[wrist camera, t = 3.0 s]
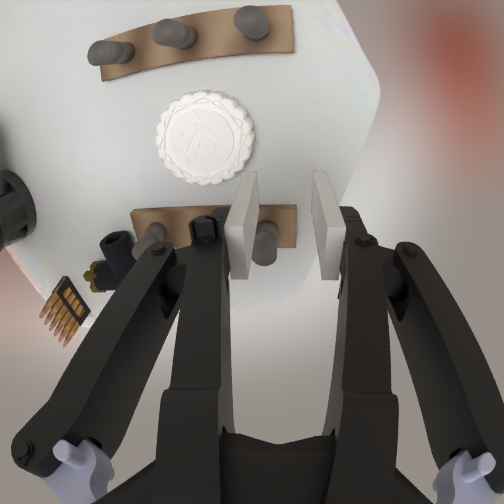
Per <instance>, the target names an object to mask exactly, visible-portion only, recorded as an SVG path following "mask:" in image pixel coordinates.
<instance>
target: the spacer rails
mask: <svg viewBox="0 0 504 504" xmlns="http://www.w3.org/2000/svg"><path fill="white" fill-rule="evenodd" d="M259 53H294V42H293V27H292V13H291V5H276V6H244V7H241V8H231V9H223V10H215V11H209V12H203V13H197V14H191V15H186V16H182V17H177V18H173V19H164V20H161V21H159V22H157V23H153V24H149V25H146V26H142V27H139V28H136V29H133V30H130V31H127V32H124V33H121V34H118V35H115V36H112V37H110V38H107V39H104V40H101V41H97V42H95V43H93V44H92V45H91V47H90V48H89V51H88V55H87V57H88V61H89V63H90V64H91V65H93V66H100V70H101V78H102V82H104V81H109V80H112V79H115V78H119V77H122V76H125V75H129V74H133V73H136V72H140V71H144V70H148V69H152V68H157V67H161V66H166V65H171V64H176V63H181V62H187V61H193V60H199V59H206V58H214V57H222V56H231V55H243V54H259ZM231 206H232V205H218V206H188V207H165V208H147V209H134V210H133V211H132V212H131V213H130V216H131V220H132V223H133V226H134V230H135V233H136V236H137V240H138V241H137V243H136V244H135V246H134V247H133V249H132V255H133V257H134V258H135V259H136V260H138V259H139V257H140V256H141V255H142V253H143V252H144V251H145V249H146V248H147V247H148V246H150V245H151V244H153V243H155V242H158V241H168V242H171V243H172V244H173V246H174V247H187V246H190V245H191V242H192V240H191V236H190V231H189V226H188V224H189V222H190V221H191V220H192V219H194V218H196V217H199V216H203V215H211V213H212V211H214V210H215V209H216V208H217V207H231ZM296 224H297V206H296V205H259V215H258V220H257V226H256V232H255V238H254V244H253V250H252V256H251V257H252V260H253V261H254V262H255V263H256V264H258V265H261V266H268V265H271V264H273V263H274V262H275V260H276V258H277V248H296Z"/></svg>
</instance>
